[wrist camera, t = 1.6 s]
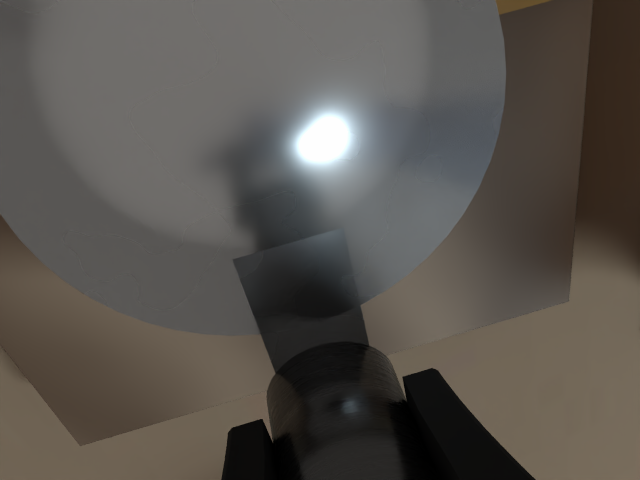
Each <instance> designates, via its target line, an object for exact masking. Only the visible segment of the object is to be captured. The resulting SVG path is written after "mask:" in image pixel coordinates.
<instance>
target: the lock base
mask: <svg viewBox="0 0 640 480" xmlns="http://www.w3.org/2000/svg"><path fill="white" fill-rule="evenodd" d="M495 1H496V4H497V8H498V13H499V18H500V22H501V27H502V32H503V37H504V47H505V61H506V85H505V102H504V108H503V114H502V119H501V125H500V130H499V135H498V138H497V141H496V145H495V148H494V151H493V154H492V157H491V161H490V163H489V166H488V168H487V170H486V172H485V175H484V177H483V179H482V182H481V184H480V186H479V188H478V190H477V192H476V194H475V195H474V197H473V199H472V200H471V202H470V204H469V206H468V207H467V209H466V211H465V212H464V214H463V215H462V217H461V218H460V219H459V221H458V222H457V224H456V225H455V226H454V228H453V229H452V230H451V232H450V233H449V234H448V236H447V237H446V238H445V239H444V240H443V241H442V242H441V243H440V245H439V246H438V247H437V248H436V249H435V250H434V251H433V252H432V253H431V254H430V255H429V256H428V257H427V258H426V259H425V260H424V261H423V262H422V263H421V264H419V265H418V266H417V267H416V268H415V269H414V270H413V271H412V272H410V273H409V274H408V275H407V276H406V277H404V278H403V279H401V280H400V281H399V282H397V283H396V284H394V285H393V286H392V287H390V288H389V289H387V290H386V291H384V292H383V293H381V294H379V295H378V296H376V297H374V298H372V299H371V300H369V301H367V302H365V303H364V304H362V305H361V309H362V314H363V319H364V323H365V328H366V332H367V337H368V341H369V346H372V347H374V348H376V349H378V350H379V351H381V352H382V353H383V354H384V355H385V356H386V355H389V354H392V353H396V352H399V351H403V350H406V349H409V348H413V347H416V346H419V345H423V344H426V343H430V342H433V341H436V340H440V339H443V338H447V337H450V336H453V335H457V334H460V333H463V332H467V331H470V330H474V329H477V328H480V327H484V326H487V325H490V324H494V323H497V322H501V321H504V320H507V319H511V318H514V317H517V316H521V315H524V314H528V313H531V312H534V311H538V310H541V309H544V308H548V307H551V306H555V305H558V304H561V303H565V302H568V301H569V294H570V281H571V269H572V257H573V244H574V232H575V219H576V207H577V195H578V182H579V170H580V157H581V145H582V133H583V120H584V108H585V95H586V83H587V71H588V58H589V46H590V34H591V21H592V9H593V0H495ZM0 345H1V346H2V347H3V348H4V350H5V351H6V352H7V354H8V355H9V356H10V357H11V359H12V360H13V361H14V362H15V364H16V365H17V366H18V368H19V369H20V370H21V371H22V373H23V374H24V375H25V376H26V378H27V379H28V380H29V382H30V383H31V384H32V385H33V387H34V388H35V389H36V390H37V392H38V393H39V394H40V396H41V397H42V398H43V399H44V401H45V402H46V403H47V404H48V406H49V407H50V408H51V410H52V411H53V412H54V413H55V415H56V416H57V417H58V418H59V420H60V421H61V422H62V424H63V425H64V426H65V427H66V429H67V430H68V431H69V432H70V434H71V435H72V436H73V438H74V439H75V440H76V441H77V443H78V444H79V445H80V446H82V445H85V444H89V443H92V442H95V441H99V440H102V439H105V438H109V437H112V436H116V435H119V434H122V433H126V432H129V431H132V430H136V429H139V428H143V427H146V426H149V425H153V424H156V423H160V422H163V421H166V420H170V419H173V418H176V417H180V416H183V415H187V414H190V413H193V412H197V411H200V410H203V409H207V408H210V407H214V406H217V405H220V404H224V403H227V402H230V401H234V400H237V399H241V398H244V397H247V396H251V395H254V394H257V393H261V392H264V391H267V390H268V386H269V384H270V382H271V379H272V378H273V376H274V375H275V371H274V368H273V365H272V363H271V360H270V358H269V355H268V352H267V350H266V347H265V344H264V342H263V339H262V336H261V334H259V335H238V336H226V335H206V334H198V333H191V332H185V331H178V330H173V329H169V328H165V327H161V326H157V325H153V324H149V323H146V322H143V321H141V320H138V319H135V318H133V317H130V316H127V315H124V314H122V313H119V312H117V311H115V310H113V309H111V308H109V307H107V306H105V305H103V304H101V303H99V302H97V301H95V300H93V299H91V298H90V297H88V296H87V295H85V294H83V293H82V292H80V291H79V290H77V289H76V288H74V287H72V286H71V285H69V284H68V283H66V282H65V281H64V280H63V279H61V278H60V277H59V276H58V275H56V274H55V273H54V272H53V271H52V270H50V269H49V268H48V267H47V266H45V265H44V264H43V263H42V262H41V261H40V260H39V259H38V258H37V257H36V256H35V255H34V254H33V253H32V252H31V251H30V250H29V249H28V248H27V247H26V246H25V245H24V244H23V243H22V242H21V241H20V240H19V238H18V237H17V236H16V234H15V233H14V232H13V230H12V229H11V228H10V226H9V225H8V224H7V222H6V221H5V220H4V218H3V217H2V216H1V214H0Z"/></svg>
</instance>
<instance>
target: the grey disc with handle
mask: <svg viewBox="0 0 640 480" xmlns="http://www.w3.org/2000/svg"><path fill="white" fill-rule="evenodd" d="M505 85H506V61H505V47H504V37H503V32H502V27H501V22H500V18H499V13H498V8H497V4H496V1H495V0H0V214H1V216H2V217H3V218H4V220H5V221H6V222H7V224H8V225H9V226H10V228H11V229H12V230H13V232H14V233H15V234H16V236H17V237H18V238H19V240H20V241H21V242H22V243H23V244H24V245H25V246H26V247H27V248H28V249H29V250H30V251H31V252H32V253H33V254H34V255H35V256H36V257H37V258H38V259H39V260H40V261H41V262H42V263H43V264H44V265H45V266H47V267H48V268H49V269H50V270H52V271H53V272H54V273H55V274H56V275H58V276H59V277H60V278H61V279H63V280H64V281H65V282H66V283H68V284H69V285H71V286H72V287H74V288H76V289H77V290H79V291H80V292H82V293H83V294H85V295H87V296H88V297H90V298H91V299H93V300H95V301H97V302H99V303H101V304H103V305H105V306H107V307H109V308H111V309H113V310H115V311H117V312H119V313H122V314H124V315H127V316H130V317H133V318H135V319H138V320H141V321H143V322H146V323H149V324H153V325H157V326H161V327H165V328H169V329H173V330H178V331H185V332H191V333H198V334H206V335H226V336H238V335H259V334H261V336H262V339H263V342H264V344H265V347H266V350H267V352H268V355H269V358H270V360H271V363H272V365H273V368H274V371H275V375H274V376H273V378H272V379H271V382H270V384H269V386H268V390H267V406H268V412H269V419H270V426H271V433H272V440H273V447H274V453H275V460H276V467H277V474H278V480H438V477H437V475H436V472H435V470H434V467H433V465H432V462H431V460H430V457H429V455H428V452H427V450H426V448H425V445H424V443H423V440H422V438H421V436H420V433H419V431H418V428H417V426H416V423H415V421H414V418H413V416H412V413H411V411H410V408H409V406H408V403H407V401H406V398H405V396H404V393H403V391H402V388H401V386H400V383H399V381H398V378H397V376H396V373H395V371H394V369H393V366H392V364H391V362H390V360H389V359H388V358H387V357H386V356H385V355H384V354H383V353H382V352H381V351H379V350H378V349H376V348H374V347H372V346H369V341H368V337H367V332H366V328H365V323H364V319H363V314H362V309H361V305H362V304H364V303H365V302H367V301H369V300H371V299H372V298H374V297H376V296H378V295H379V294H381V293H383V292H384V291H386V290H387V289H389V288H390V287H392V286H393V285H394V284H396V283H397V282H399V281H400V280H401V279H403V278H404V277H406V276H407V275H408V274H409V273H410V272H412V271H413V270H414V269H415V268H416V267H417V266H418V265H419V264H421V263H422V262H423V261H424V260H425V259H426V258H427V257H428V256H429V255H430V254H431V253H432V252H433V251H434V250H435V249H436V248H437V247H438V246H439V245H440V243H441V242H442V241H443V240H444V239H445V238H446V237H447V236H448V234H449V233H450V232H451V230H452V229H453V228H454V226H455V225H456V224H457V222H458V221H459V219H460V218H461V217H462V215H463V214H464V212H465V211H466V209H467V207H468V206H469V204H470V202H471V200H472V199H473V197H474V195H475V194H476V192H477V190H478V188H479V186H480V184H481V182H482V179H483V177H484V175H485V172H486V170H487V168H488V166H489V163H490V161H491V157H492V154H493V151H494V148H495V145H496V141H497V138H498V135H499V130H500V125H501V119H502V114H503V108H504V102H505Z"/></svg>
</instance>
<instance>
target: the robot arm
mask: <svg viewBox="0 0 640 480" xmlns="http://www.w3.org/2000/svg"><path fill="white" fill-rule="evenodd" d="M403 382H404V388H405V394H406V399H407V403H408V406H409V408H410V411H411V413H412V416H413V418H414V421H415V423H416V426H417V428H418V431H419V433H420V436H421V438H422V440H423V443H424V445H425V448H426V450H427V452H428V455H429V457H430V460H431V462H432V465H433V467H434V470H435V472H436V475H437V477H438V480H535V479H534V478H533V477H532V476H531V475H530V474H529V473H528V472H527V471H526V470H525V469H524V468H523V467H522V466H521V465H520V464H519V463H518V462H517V461H516V460H515V459H514V458H513V457H512V456H511V455H510V454H509V453H508V452H507V451H506V450H505V449H504V448H503V447H502V446H501V445H500V443H499V442H498V441H497V440H496V439H495V438H494V437H493V436H492V435H491V434H490V433H489V432H488V431H487V430H486V429H485V428H484V427H483V425H482V424H481V423H480V422H479V421H478V420H477V419H476V417H475V416H474V415H473V414H472V413H471V412H470V411H469V410H468V408H467V407H466V406H465V405H464V404H463V402H462V401H461V400H460V399H459V398H458V396H457V395H456V394H455V393H454V391H453V390H452V389H451V388H450V386H449V385H448V384H447V382H446V381H445V380H444V378H443V377H442V376H441V374H440V373H439V371H438V370H436V369H433V368H431V369H428V370H424V371H421V372H417V373H414V374H411V375H407V376H404V377H403ZM221 480H278V474H277V467H276V460H275V453H274V447H273V442H272V440H271V438H270V435H269V433H268V431H267V429H266V426H265V424H264V422H263V419H260V420H256V421H253V422H250V423H246V424H243V425H240V426H236V427H233V428H232V429H231V430H230V431H229V432H228V439H227V447H226V454H225V461H224V468H223V473H222V479H221Z"/></svg>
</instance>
